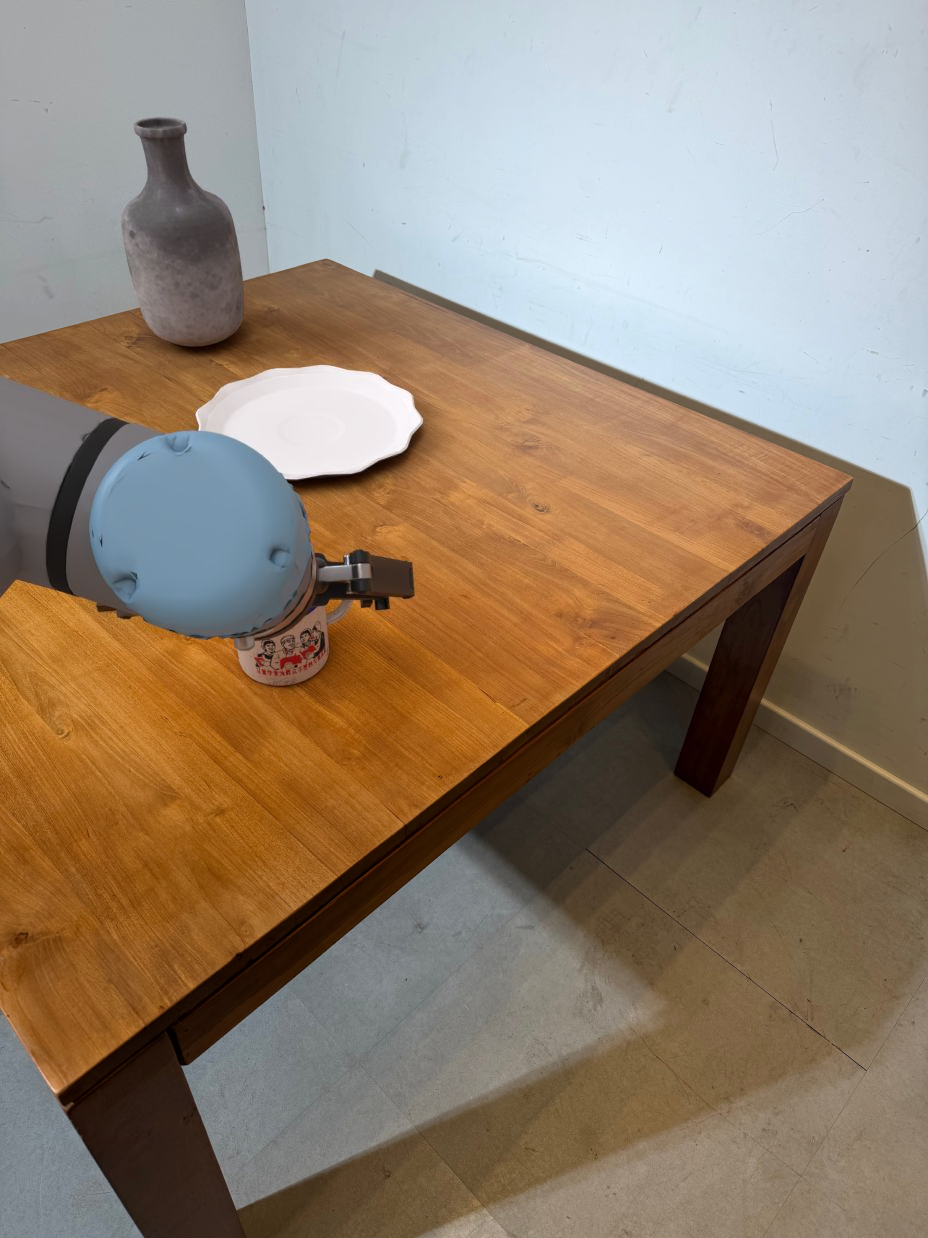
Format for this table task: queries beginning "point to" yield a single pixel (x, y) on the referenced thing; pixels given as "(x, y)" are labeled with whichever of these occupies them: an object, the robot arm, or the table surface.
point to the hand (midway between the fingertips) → (277, 596)
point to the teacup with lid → (293, 649)
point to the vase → (181, 246)
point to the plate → (315, 419)
